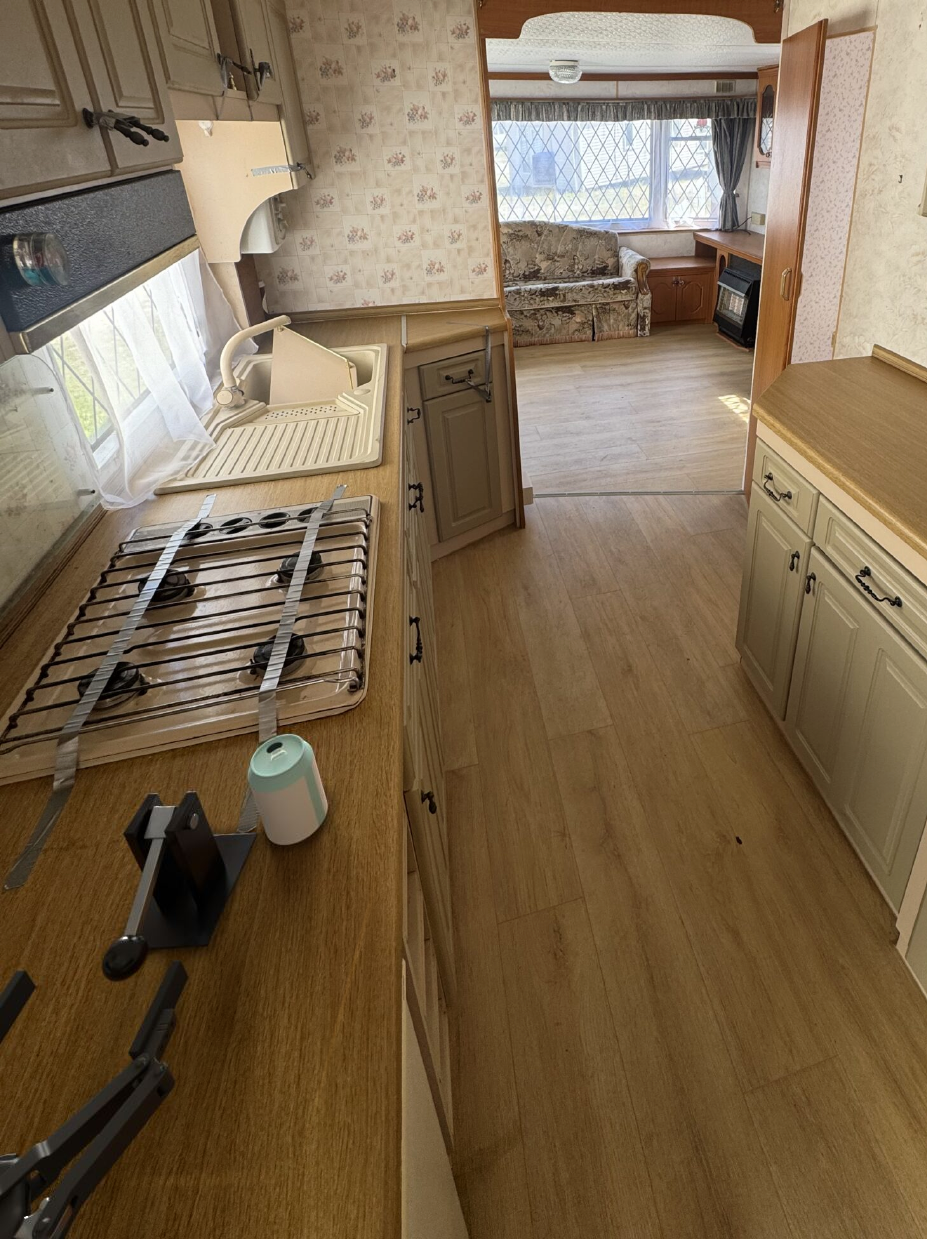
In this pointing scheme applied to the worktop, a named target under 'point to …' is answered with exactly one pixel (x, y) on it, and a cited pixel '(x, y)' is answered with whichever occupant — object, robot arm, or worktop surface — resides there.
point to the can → (287, 789)
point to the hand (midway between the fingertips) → (104, 973)
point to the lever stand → (187, 873)
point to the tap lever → (139, 906)
